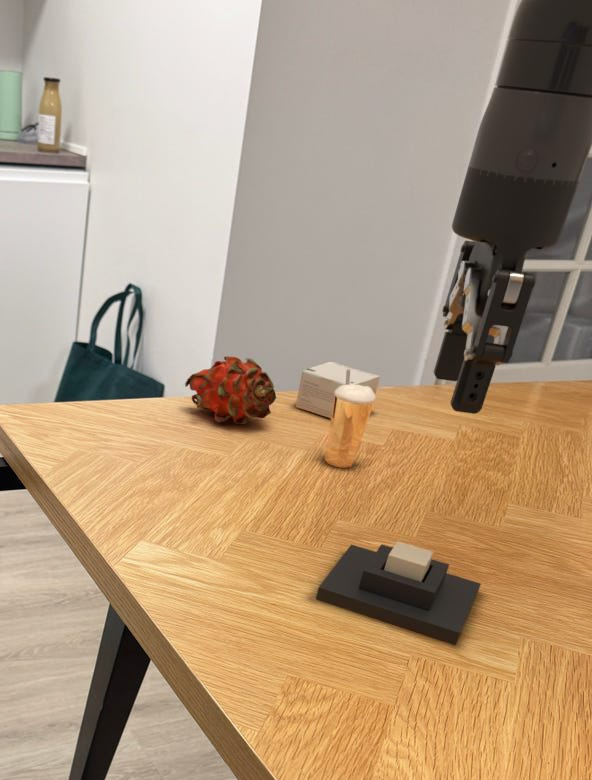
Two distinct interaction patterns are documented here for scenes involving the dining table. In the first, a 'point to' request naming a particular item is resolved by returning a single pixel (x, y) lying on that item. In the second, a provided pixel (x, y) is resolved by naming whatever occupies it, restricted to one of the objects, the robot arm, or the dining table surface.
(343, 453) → the milkshake
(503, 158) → the robot arm
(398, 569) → the beige square block
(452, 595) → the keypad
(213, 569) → the dining table surface
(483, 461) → the dining table surface
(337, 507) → the dining table surface
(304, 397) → the small box
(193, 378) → the dragon fruit
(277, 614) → the dining table surface
